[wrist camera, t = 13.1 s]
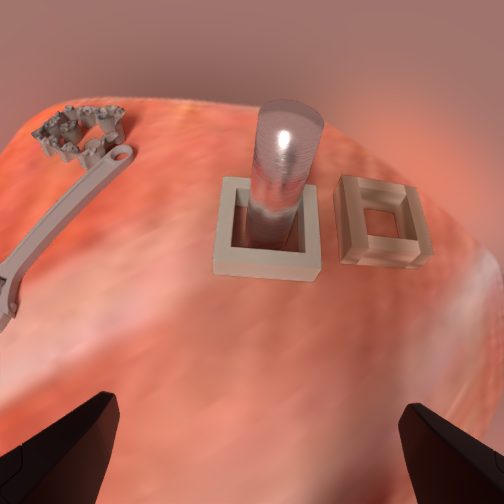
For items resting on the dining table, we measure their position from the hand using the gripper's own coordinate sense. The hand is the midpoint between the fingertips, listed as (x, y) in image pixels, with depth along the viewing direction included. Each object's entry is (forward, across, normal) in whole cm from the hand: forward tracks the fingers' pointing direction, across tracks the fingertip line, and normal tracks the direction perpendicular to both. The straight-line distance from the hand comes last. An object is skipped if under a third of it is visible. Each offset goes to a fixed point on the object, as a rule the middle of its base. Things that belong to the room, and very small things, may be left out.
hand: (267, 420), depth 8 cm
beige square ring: (+21, -12, -2) cm, 24 cm away
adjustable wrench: (+18, +19, +2) cm, 27 cm away
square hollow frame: (+20, -1, -1) cm, 20 cm away
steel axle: (+20, -1, -1) cm, 20 cm away
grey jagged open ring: (+28, +20, -8) cm, 35 cm away
